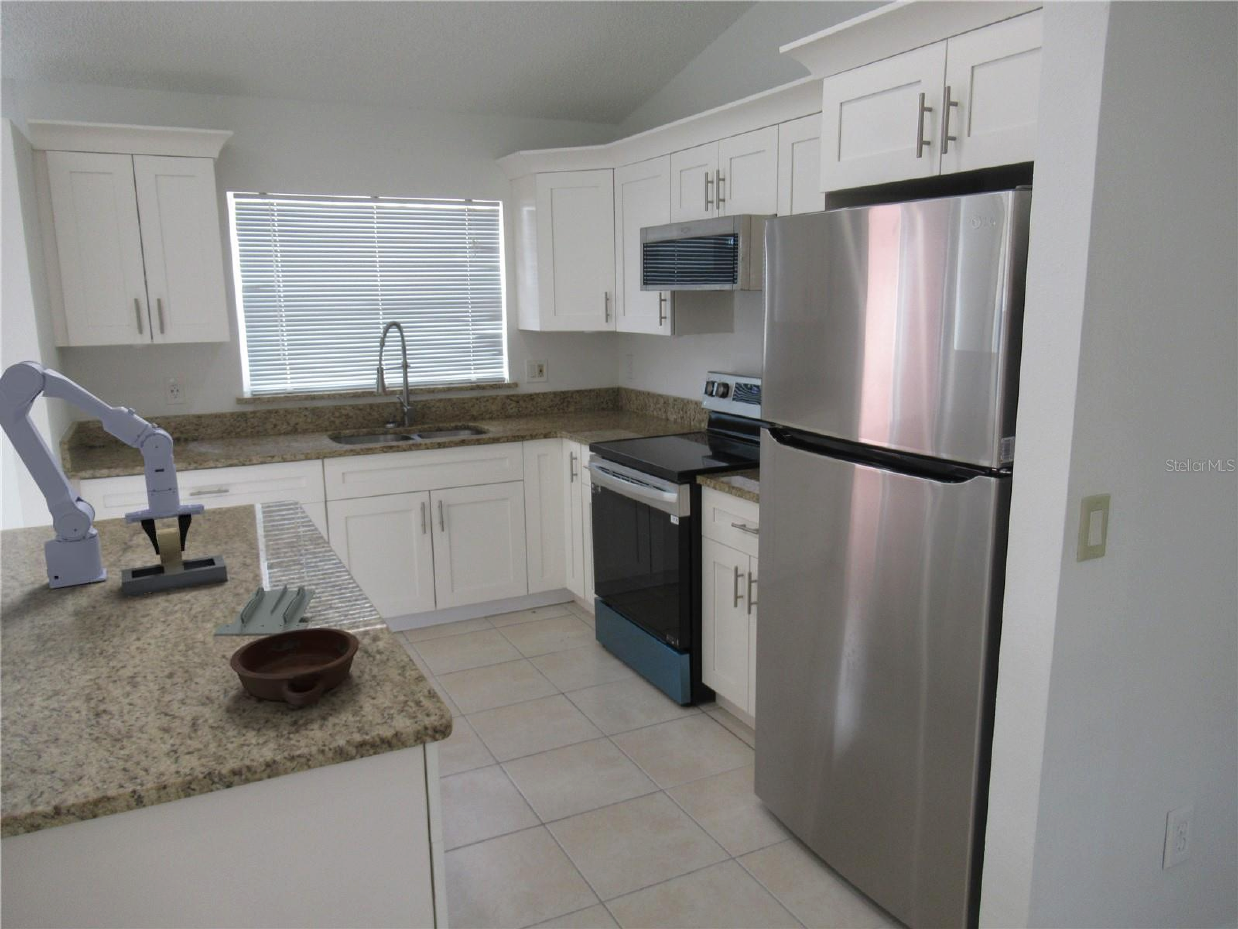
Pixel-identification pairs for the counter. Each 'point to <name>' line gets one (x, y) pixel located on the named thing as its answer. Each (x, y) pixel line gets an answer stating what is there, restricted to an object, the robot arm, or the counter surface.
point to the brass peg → (169, 545)
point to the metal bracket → (270, 613)
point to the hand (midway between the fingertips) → (170, 552)
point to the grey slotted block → (173, 575)
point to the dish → (295, 664)
